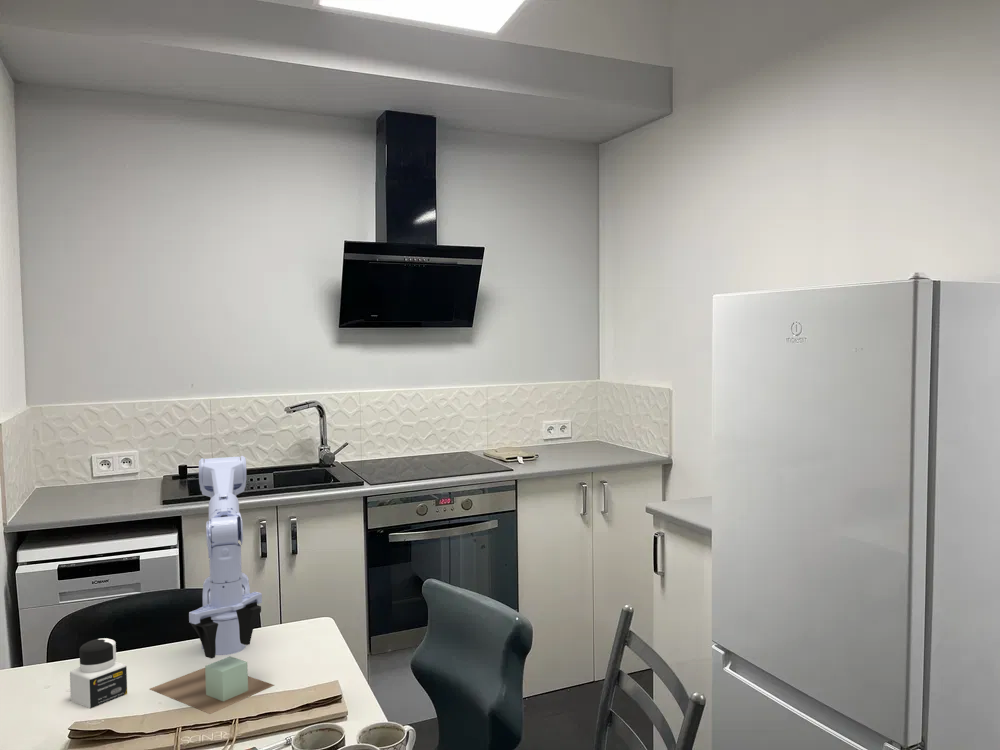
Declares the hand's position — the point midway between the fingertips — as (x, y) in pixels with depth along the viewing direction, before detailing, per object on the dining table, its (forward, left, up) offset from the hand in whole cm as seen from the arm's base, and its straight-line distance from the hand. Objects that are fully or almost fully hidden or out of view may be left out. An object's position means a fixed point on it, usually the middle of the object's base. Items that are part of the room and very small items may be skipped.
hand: (228, 650), depth 140 cm
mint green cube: (0, -1, -8) cm, 8 cm away
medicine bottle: (-20, -15, -10) cm, 26 cm away
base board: (-5, -1, -9) cm, 11 cm away
